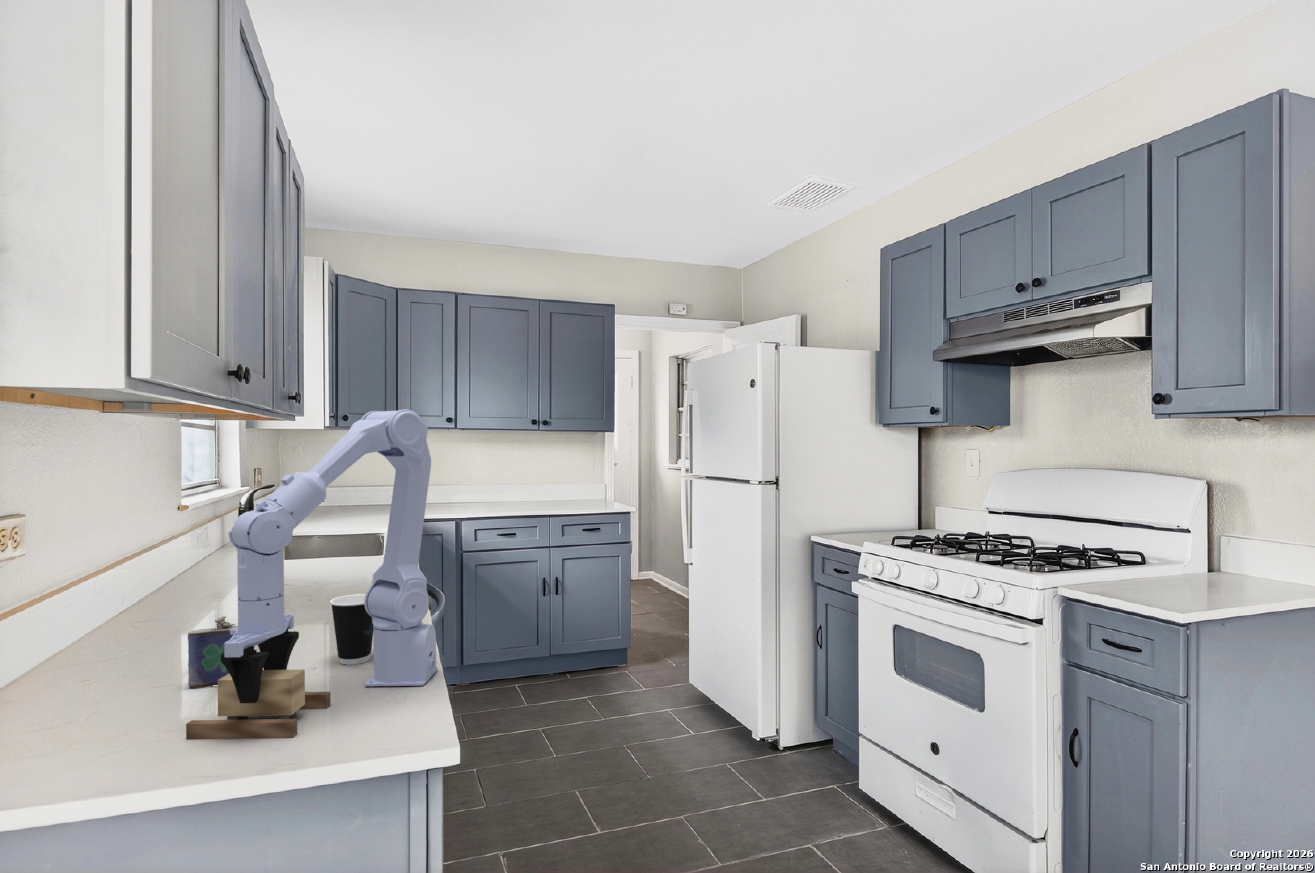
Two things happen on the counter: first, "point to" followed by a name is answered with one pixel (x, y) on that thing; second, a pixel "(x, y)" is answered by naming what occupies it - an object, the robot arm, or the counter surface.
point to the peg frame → (254, 723)
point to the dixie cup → (352, 629)
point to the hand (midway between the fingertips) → (262, 693)
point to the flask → (207, 654)
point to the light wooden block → (265, 695)
